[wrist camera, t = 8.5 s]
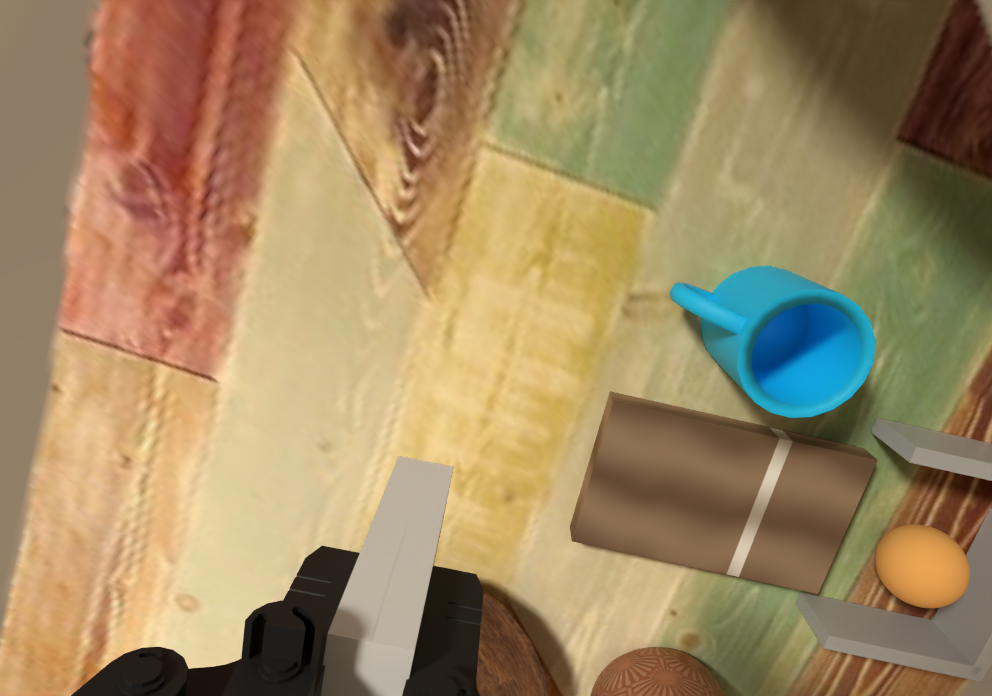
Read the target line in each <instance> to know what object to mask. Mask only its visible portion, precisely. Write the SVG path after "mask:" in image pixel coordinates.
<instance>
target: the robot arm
mask: <svg viewBox="0 0 992 696" xmlns="http://www.w3.org/2000/svg"><path fill="white" fill-rule="evenodd" d="M453 468H454V467H452V466H447V465H442V464H437V463H432V462H427V461H422V460H417V459H412V458H407V457H402V456H399V457H398V459H397V461H396V464H395V466H394V469H393V471H392V474H391V476H390V479H389V481H388V484H387V486H386V489H385V491H384V494H383V496H382V499H381V501H380V504H379V506H378V509H377V511H376V514H375V516H374V519H373V521H372V524H371V526H370V529H369V531H368V534H367V536H366V539H365V541H364V544H363V546H362V549H361V551H360V553H357V552H351V551H346V550H341V549H336V548H331V547H326V546H321V547H320V548H318V549H317V550H316V551H314V552H313V553H312V554H310V555H309V556H308V557H306V558H305V560H304V562H303V564H302V566H301V568H300V570H299V572H298V573H297V577H295V579H294V581H293V583H292V585H291V587H290V590H289V591H288V592H287V594H286V596H285V598H284V600H283V601H278V602H273V603H268V604H266V605H264V606H262V607H260V608H258V609H256V610H254V611H253V612H252V614H251V615H250V616H249V617H248V618H247V619H246V620H245V629H244V639H243V649H242V658H241V659H240V660H238V661H235V662H232V663H229V664H226V665H221V666H215V667H205V668H192V669H188V666H187V664H186V662H185V660H184V657H182V656H181V655H179V654H178V653H177V652H175V651H174V650H171V649H166V648H162V647H149V648H140V649H137V650H134V651H131V652H128V653H125V654H123V655H122V656H120V657H119V658H117V659H115V660H114V661H112V662H111V663H109V664H108V665H107V666H106V667H105V668H103V669H102V670H101V671H100V672H99V673H97V674H96V675H95V676H94V677H93V678H92V679H90V680H89V681H88V682H87V683H86V684H84V685H83V686H82V687H81V688H80V689H78V690H77V691H76V692H75V693H74V694H73V695H71V696H480V694H479V692H478V689H477V680H476V676H477V665H478V653H479V641H480V629H481V618H482V606H483V594H484V591H483V588H482V586H481V584H480V582H479V580H478V577H477V575H476V574H472V573H467V572H462V571H457V570H452V569H447V568H442V567H437V566H434V562H435V557H436V552H437V547H438V542H439V537H440V532H441V527H442V522H443V518H444V513H445V508H446V503H447V498H448V493H449V488H450V483H451V478H452V473H453Z"/></svg>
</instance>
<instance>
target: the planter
mask: <svg viewBox="0 0 992 696" xmlns="http://www.w3.org/2000/svg"><path fill="white" fill-rule="evenodd" d="M591 696H726V695H725V693H724V692H723V690H722V688H721V686H720V685H719V683H718V682H717V680H716V679H715V677H714V676H713V675H712V674H711V672H710V671H709V670H708V669H707V668H706V667H705V666H704V665H703V664H701V663H700V662H699V661H698V660H696V659H695V658H693V657H692V656H690V655H688V654H685V653H683V652H680V651H677V650H674V649H669V648H662V647H649V648H642V649H637V650H634V651H631V652H628V653H626V654H623V655H622V656H620V657H618V658H616V659H615V660H614V661H612V662H611V663H610V664H609V665H608V666H607V667H606V668H605V669H604V670H603V671H602V672H601V674H600V675H599V676H598V678H597V680H596V682H595V684H594V686H593V689H592V692H591Z"/></svg>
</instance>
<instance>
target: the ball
mask: <svg viewBox="0 0 992 696" xmlns="http://www.w3.org/2000/svg"><path fill="white" fill-rule="evenodd" d="M875 567H876V570H877V573H878V576H879V578H880V580H881V581H882V583H883V584H884V585H885V587H886V588H887V589H888V590H889V591H890V592H891V593H892V594H893V595H895V596H896V597H897V598H899V599H900V600H902V601H904V602H906V603H908V604H911V605H914V606H917V607H921V608H940V607H944V606H947V605H950V604H952V603H954V602H955V601H957V600H958V599H959V598H960V597H961V596H962V595H963V594H964V593H965V591H966V589H967V587H968V585H969V581H970V567H969V563H968V560H967V558H966V555H965V554H964V552H963V550H962V549H961V547H960V546H959V545H958V544H957V543H956V542H955V541H954V540H953V539H952V538H951V537H949V536H948V535H946V534H945V533H943V532H941V531H940V530H937V529H935V528H932V527H929V526H925V525H917V524H910V525H903V526H900V527H897V528H894V529H892V530H891V531H889V532H888V533H886V534H885V535H884V536H883V537H882V539H881V540H880V541H879V543H878V545H877V548H876V551H875Z"/></svg>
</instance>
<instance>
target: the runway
mask: <svg viewBox="0 0 992 696" xmlns="http://www.w3.org/2000/svg"><path fill="white" fill-rule="evenodd" d="M877 461H878V460H877V459H876V458H874V457H873V456H872V455H871V454H870V453H869V452H867V451H866V450H865V449H864V448H860V447H856V446H851V445H847V444H842V443H838V442H833V441H829V440H824V439H820V438H815V437H811V436H806V435H802V434H797V433H793V432H788V431H784V430H780V429H775V428H771V427H766V426H762V425H757V424H753V423H748V422H744V421H739V420H735V419H730V418H726V417H721V416H717V415H712V414H708V413H703V412H699V411H695V410H690V409H686V408H681V407H677V406H672V405H668V404H663V403H659V402H654V401H650V400H645V399H641V398H636V397H632V396H627V395H623V394H618V393H614V392H610V394H609V397H608V400H607V404H606V407H605V411H604V414H603V417H602V421H601V424H600V427H599V431H598V434H597V437H596V441H595V444H594V448H593V451H592V454H591V458H590V461H589V464H588V468H587V471H586V474H585V478H584V481H583V485H582V488H581V491H580V495H579V498H578V501H577V505H576V508H575V511H574V515H573V518H572V522H571V525H570V531H571V538H572V541H574V542H578V543H583V544H588V545H592V546H597V547H602V548H606V549H611V550H615V551H620V552H625V553H629V554H634V555H639V556H643V557H648V558H653V559H657V560H662V561H667V562H671V563H676V564H681V565H685V566H690V567H695V568H699V569H704V570H708V571H713V572H718V573H722V574H727V575H732V576H736V577H741V578H746V579H750V580H755V581H760V582H764V583H769V584H774V585H778V586H783V587H787V588H792V589H797V590H801V591H806V592H811V593H815V594H818V593H819V591H820V588H821V586H822V584H823V582H824V579H825V577H826V575H827V573H828V570H829V568H830V566H831V564H832V562H833V559H834V557H835V555H836V553H837V550H838V548H839V546H840V544H841V541H842V539H843V537H844V535H845V532H846V530H847V528H848V526H849V523H850V521H851V519H852V517H853V515H854V512H855V510H856V508H857V506H858V503H859V501H860V499H861V497H862V494H863V492H864V490H865V488H866V485H867V483H868V481H869V479H870V476H871V474H872V472H873V470H874V468H875V465H876V463H877Z"/></svg>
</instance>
